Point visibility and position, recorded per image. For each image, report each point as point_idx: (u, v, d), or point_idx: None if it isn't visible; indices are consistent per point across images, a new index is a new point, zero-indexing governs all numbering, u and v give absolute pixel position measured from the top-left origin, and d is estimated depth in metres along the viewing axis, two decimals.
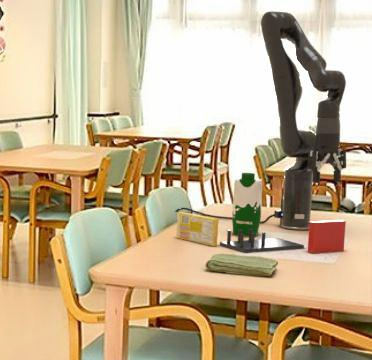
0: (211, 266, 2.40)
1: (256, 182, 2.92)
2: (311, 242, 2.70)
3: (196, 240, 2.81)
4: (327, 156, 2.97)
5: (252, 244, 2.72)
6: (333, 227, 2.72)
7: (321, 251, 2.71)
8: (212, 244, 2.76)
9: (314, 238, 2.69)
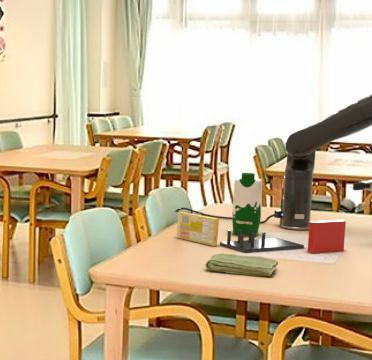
0: (211, 266, 2.40)
1: (256, 182, 2.92)
2: (311, 242, 2.70)
3: (196, 240, 2.81)
4: None
5: (252, 244, 2.72)
6: (333, 227, 2.72)
7: (321, 251, 2.71)
8: (212, 244, 2.76)
9: (314, 238, 2.69)
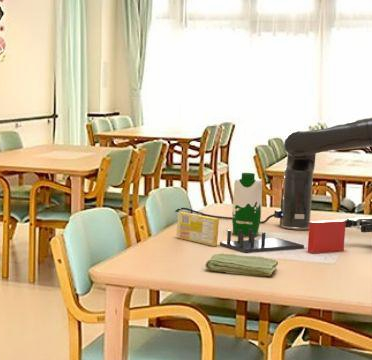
0: (211, 266, 2.40)
1: (256, 182, 2.92)
2: (311, 242, 2.70)
3: (196, 240, 2.81)
4: None
5: (252, 244, 2.72)
6: (333, 227, 2.72)
7: (321, 251, 2.71)
8: (212, 244, 2.76)
9: (314, 238, 2.69)
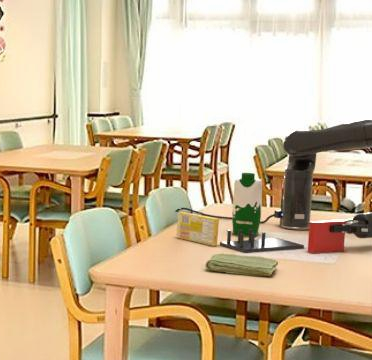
0: (211, 266, 2.40)
1: (256, 182, 2.92)
2: (311, 242, 2.70)
3: (196, 240, 2.81)
4: None
5: (252, 244, 2.72)
6: None
7: (321, 251, 2.71)
8: (212, 244, 2.76)
9: (314, 238, 2.69)
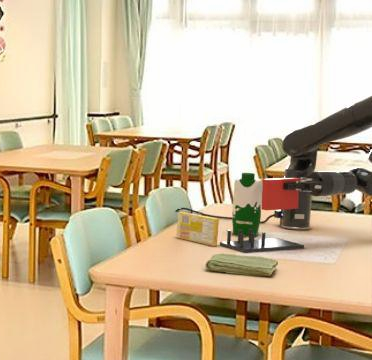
0: (211, 266, 2.40)
1: (256, 182, 2.92)
2: (264, 199, 2.71)
3: (196, 240, 2.81)
4: (309, 191, 2.76)
5: (252, 244, 2.72)
6: None
7: (275, 208, 2.72)
8: (212, 244, 2.76)
9: (268, 195, 2.70)
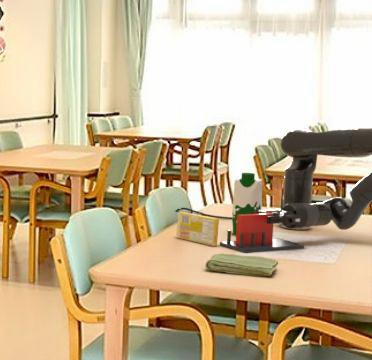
0: (211, 266, 2.40)
1: (256, 182, 2.92)
2: (239, 235, 2.73)
3: (196, 240, 2.81)
4: None
5: (252, 244, 2.72)
6: (261, 220, 2.75)
7: (249, 244, 2.74)
8: (212, 244, 2.76)
9: (242, 231, 2.72)
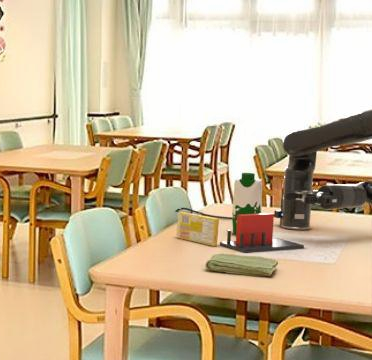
0: (211, 266, 2.40)
1: (256, 182, 2.92)
2: (239, 235, 2.73)
3: (196, 240, 2.81)
4: None
5: (252, 244, 2.72)
6: (261, 220, 2.75)
7: (249, 244, 2.74)
8: (212, 244, 2.76)
9: (242, 231, 2.72)
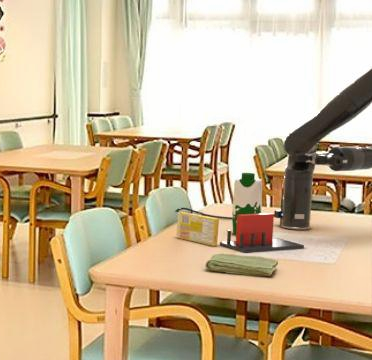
0: (211, 266, 2.40)
1: (256, 182, 2.92)
2: (239, 235, 2.73)
3: (196, 240, 2.81)
4: None
5: (252, 244, 2.72)
6: (261, 220, 2.75)
7: (249, 244, 2.74)
8: (212, 244, 2.76)
9: (242, 231, 2.72)
